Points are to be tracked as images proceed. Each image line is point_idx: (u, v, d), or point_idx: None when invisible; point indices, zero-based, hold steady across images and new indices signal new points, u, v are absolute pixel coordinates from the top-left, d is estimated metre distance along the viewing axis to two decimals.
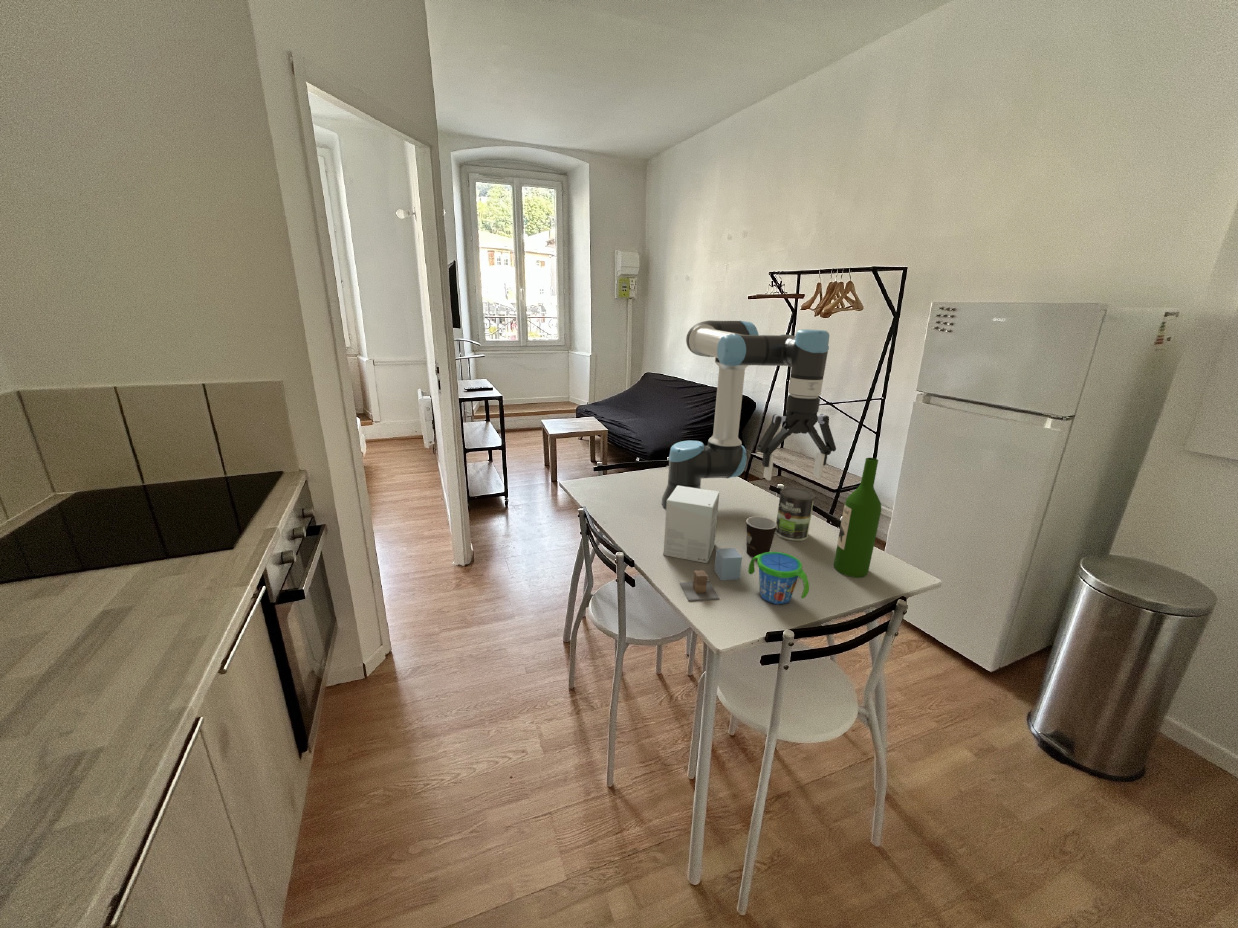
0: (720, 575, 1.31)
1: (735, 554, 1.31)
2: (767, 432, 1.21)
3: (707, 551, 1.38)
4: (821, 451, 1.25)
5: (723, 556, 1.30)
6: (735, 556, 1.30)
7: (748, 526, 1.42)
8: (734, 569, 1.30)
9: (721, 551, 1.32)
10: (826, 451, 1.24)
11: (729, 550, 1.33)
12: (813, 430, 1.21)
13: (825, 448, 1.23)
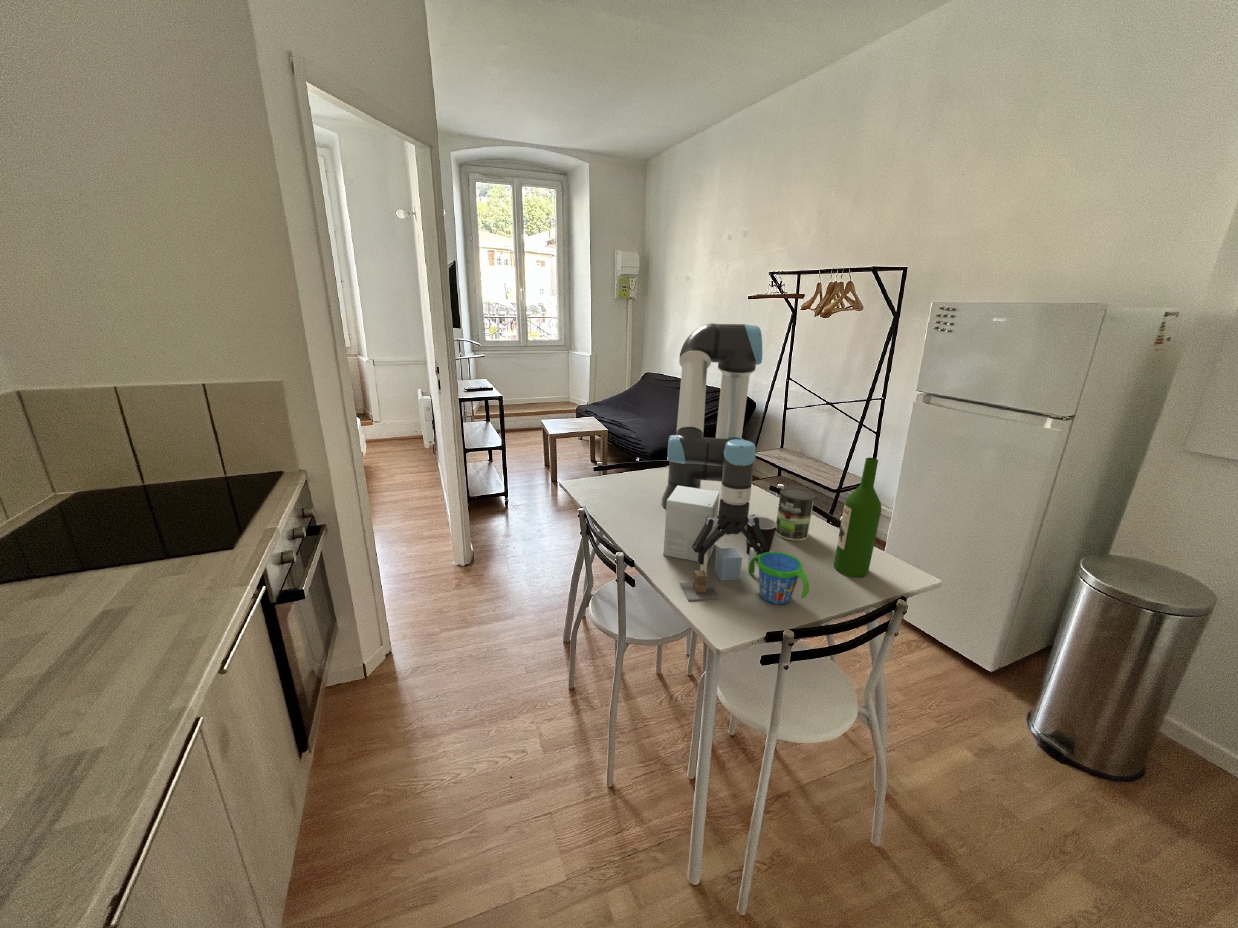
0: (720, 575, 1.31)
1: (735, 554, 1.31)
2: (701, 532, 1.29)
3: (707, 551, 1.38)
4: (754, 548, 1.33)
5: (723, 556, 1.30)
6: (735, 556, 1.30)
7: (748, 526, 1.42)
8: (734, 569, 1.30)
9: (721, 551, 1.32)
10: (758, 549, 1.31)
11: (729, 550, 1.33)
12: (744, 531, 1.28)
13: (757, 546, 1.31)
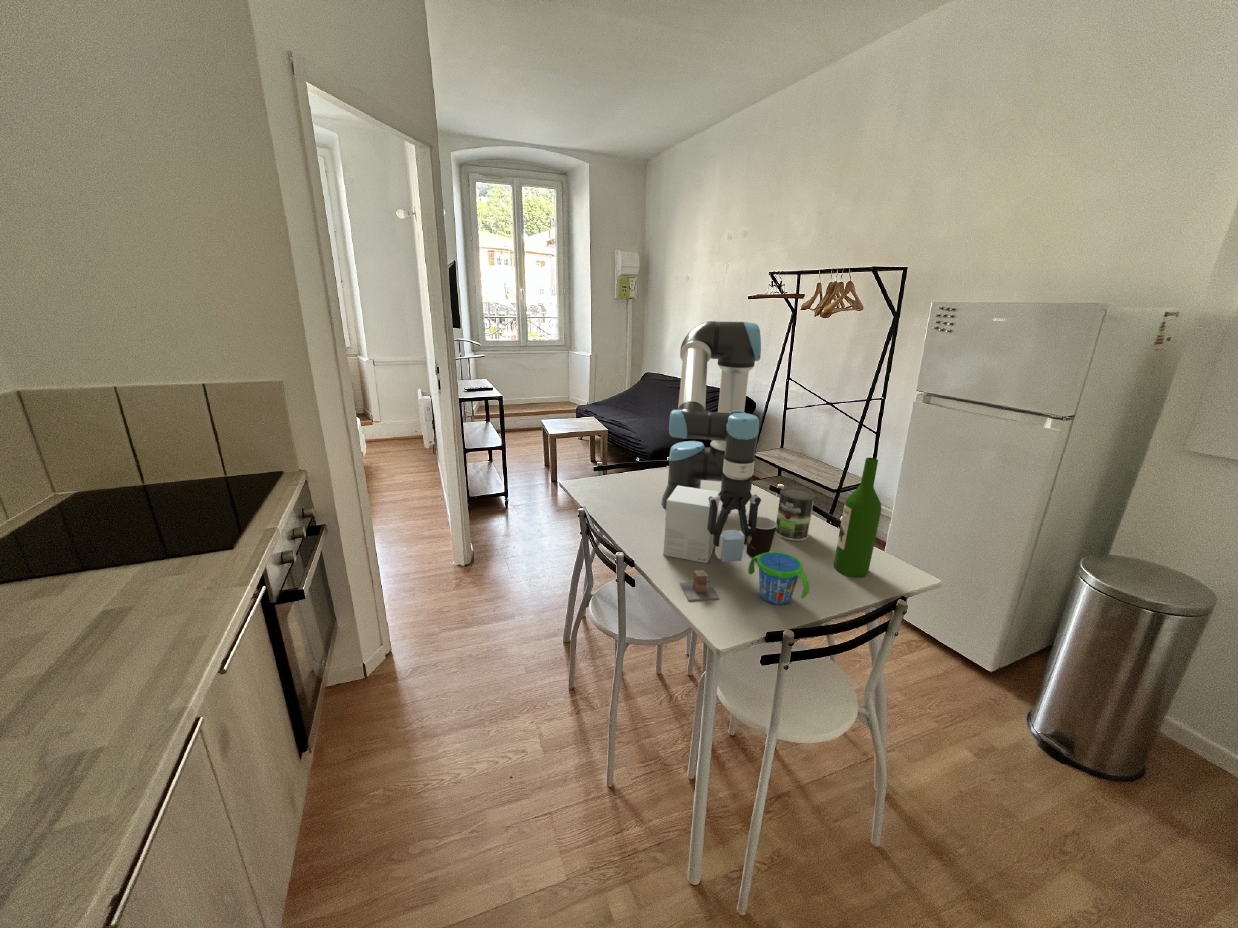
0: (722, 557, 1.30)
1: (737, 535, 1.30)
2: (709, 514, 1.28)
3: (707, 551, 1.38)
4: (742, 531, 1.31)
5: (725, 538, 1.28)
6: (737, 538, 1.29)
7: None
8: (736, 550, 1.29)
9: (723, 533, 1.31)
10: (746, 532, 1.29)
11: (731, 532, 1.32)
12: (743, 508, 1.26)
13: (746, 529, 1.29)
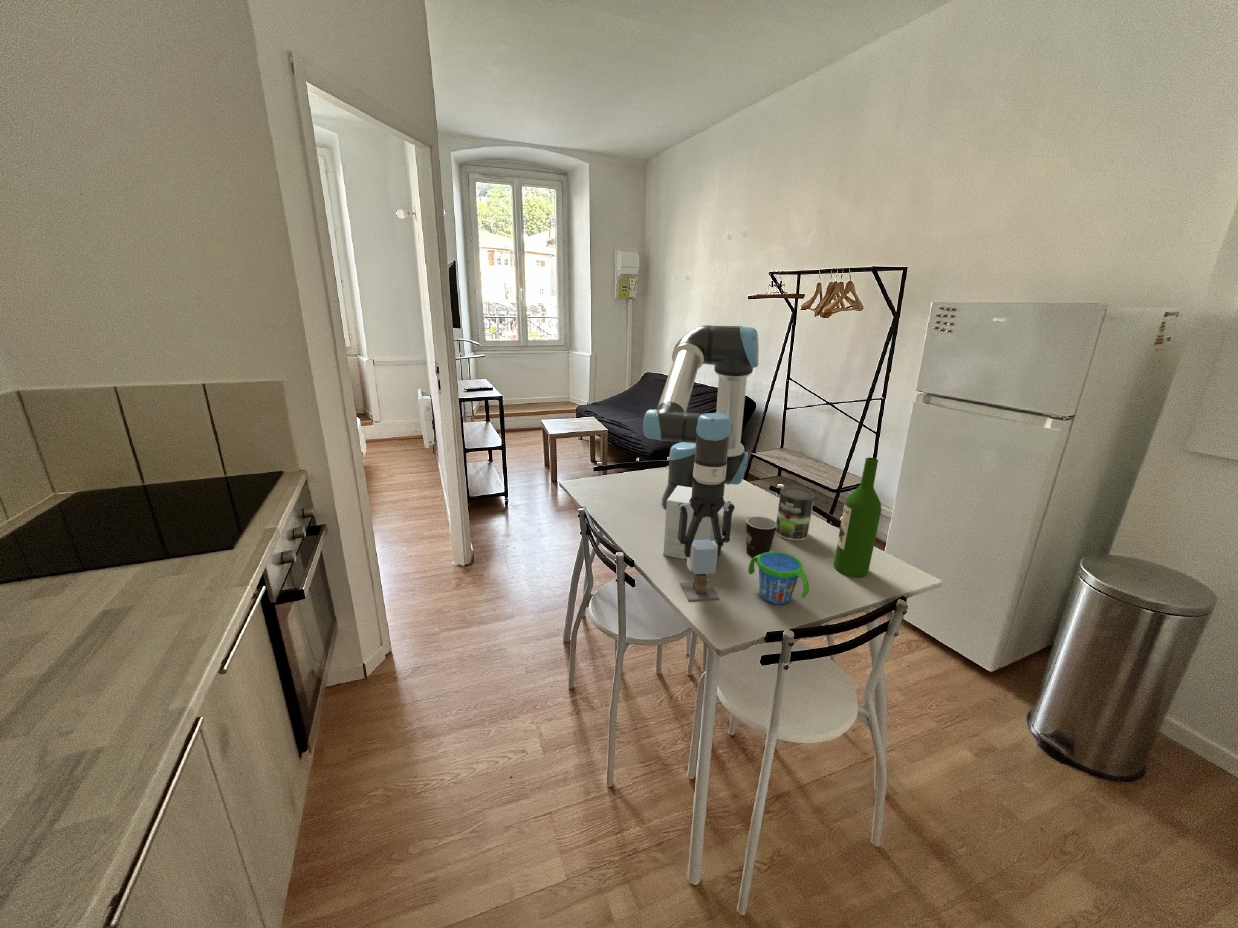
0: (693, 568, 1.21)
1: (710, 545, 1.21)
2: (680, 522, 1.19)
3: None
4: (715, 541, 1.22)
5: (696, 548, 1.19)
6: (709, 548, 1.19)
7: (748, 526, 1.42)
8: (708, 561, 1.20)
9: (695, 542, 1.22)
10: (719, 542, 1.20)
11: (704, 541, 1.23)
12: (715, 516, 1.17)
13: (720, 538, 1.20)
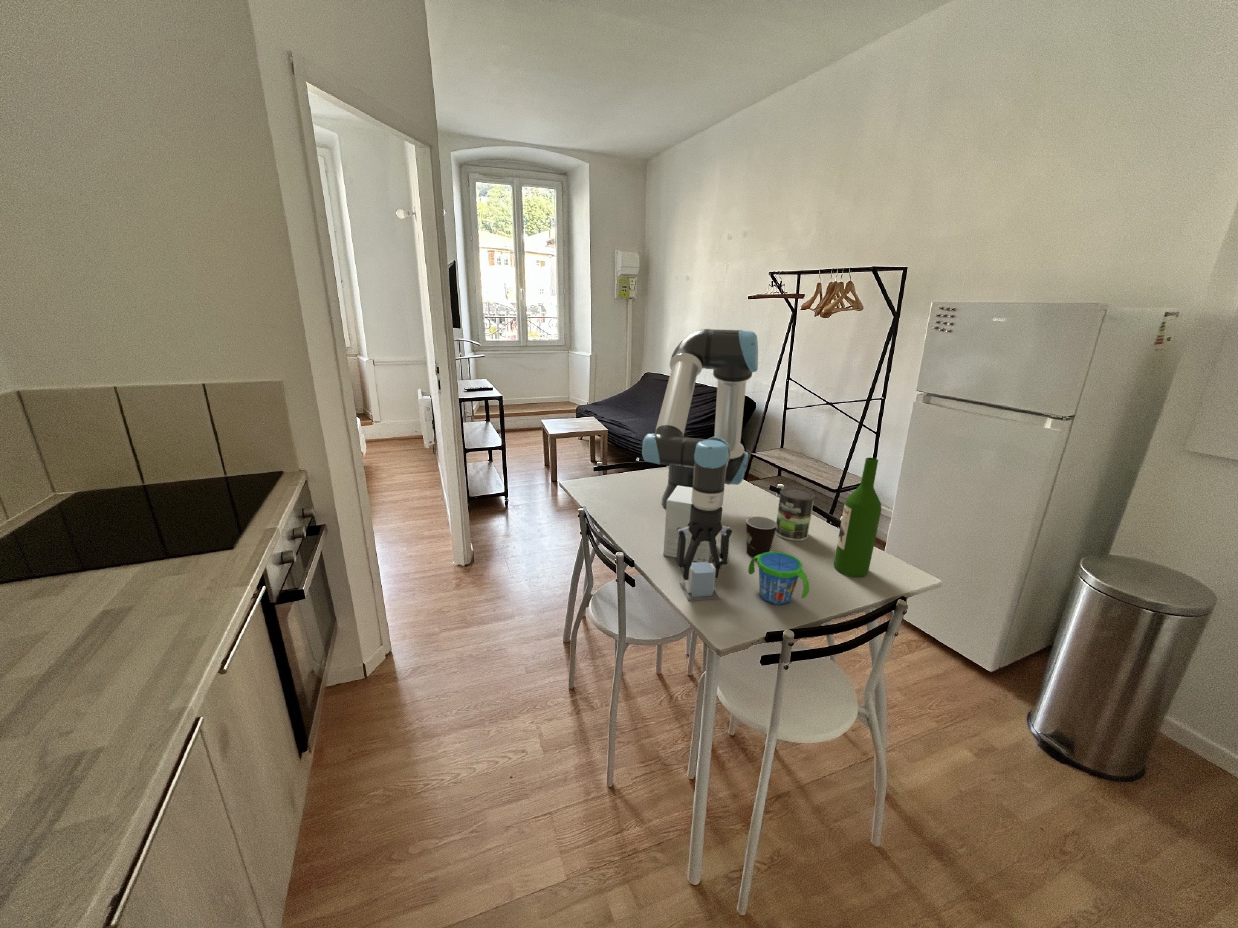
0: (692, 591, 1.23)
1: (708, 568, 1.23)
2: (678, 546, 1.21)
3: (707, 551, 1.38)
4: (713, 564, 1.24)
5: (695, 571, 1.21)
6: (707, 571, 1.22)
7: (748, 526, 1.42)
8: (706, 584, 1.22)
9: (693, 565, 1.24)
10: (717, 565, 1.22)
11: (702, 564, 1.25)
12: (713, 540, 1.20)
13: (717, 562, 1.22)
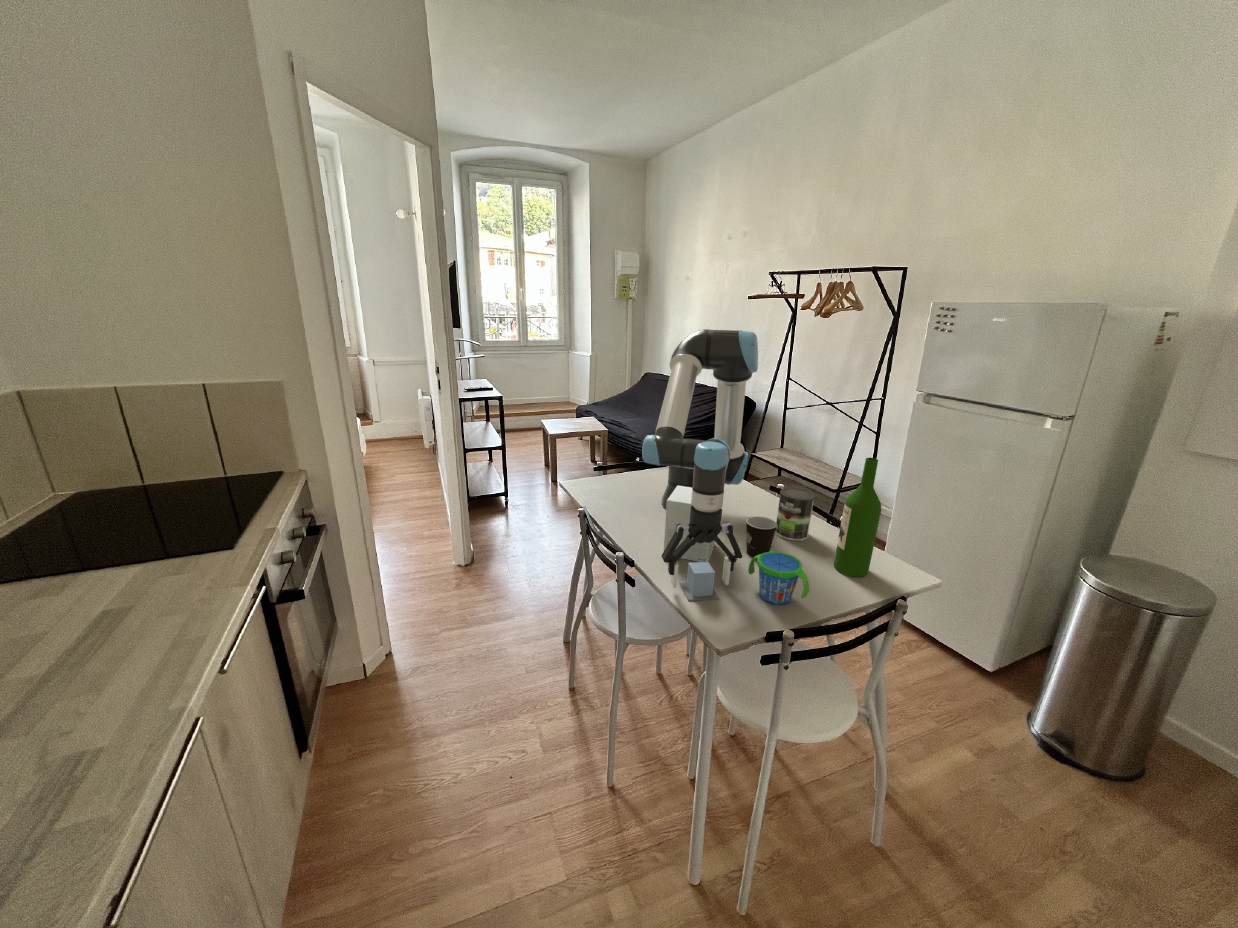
0: (692, 591, 1.23)
1: (708, 568, 1.23)
2: (671, 541, 1.20)
3: (707, 551, 1.38)
4: (728, 557, 1.24)
5: (695, 571, 1.21)
6: (707, 571, 1.21)
7: (748, 526, 1.42)
8: (706, 584, 1.22)
9: (693, 565, 1.24)
10: (732, 558, 1.23)
11: (702, 564, 1.25)
12: (717, 540, 1.20)
13: (731, 556, 1.22)
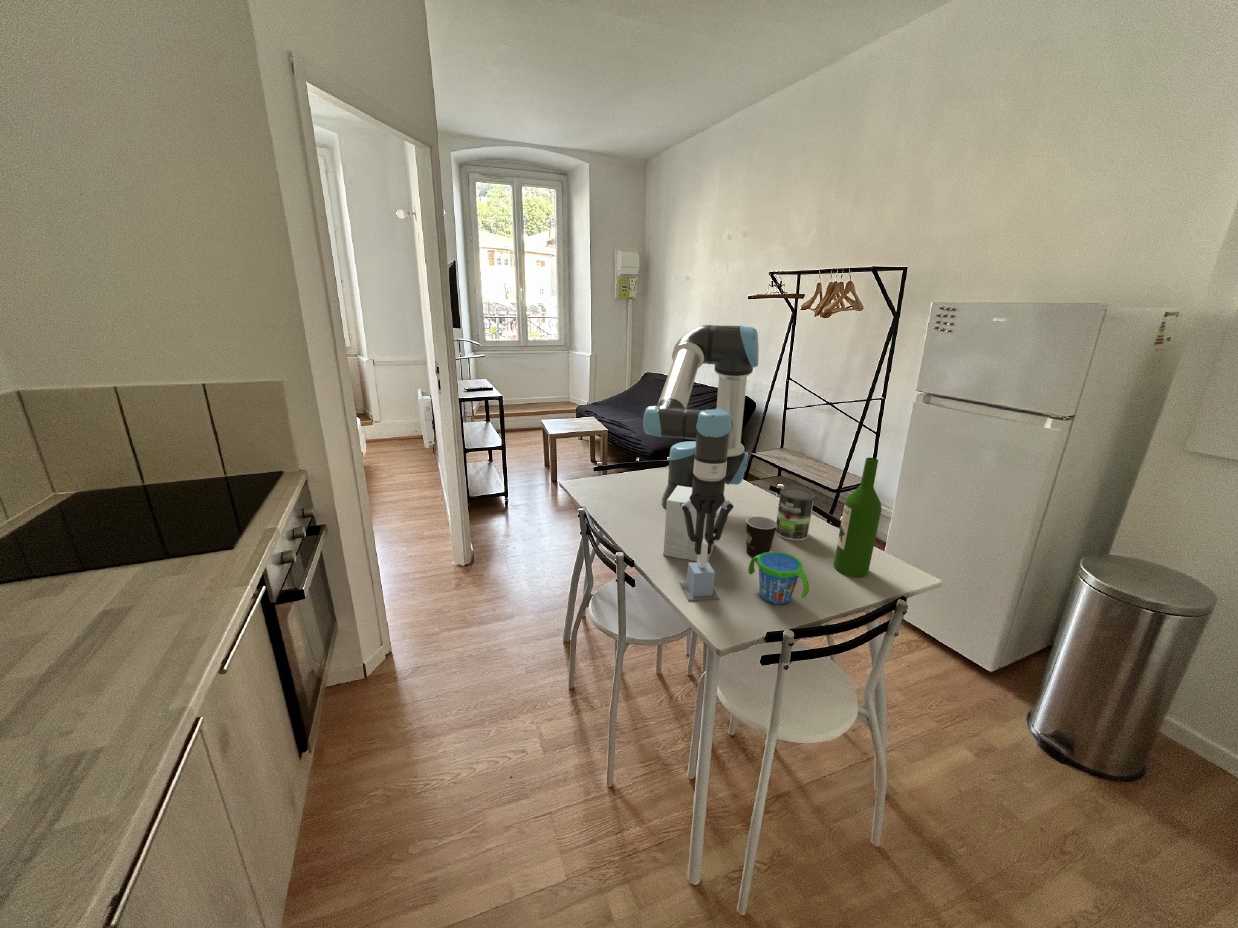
0: (692, 591, 1.23)
1: (708, 568, 1.23)
2: (685, 521, 1.19)
3: None
4: (705, 539, 1.21)
5: (695, 571, 1.21)
6: (707, 571, 1.21)
7: (748, 526, 1.42)
8: (706, 584, 1.22)
9: (693, 565, 1.24)
10: (710, 540, 1.20)
11: None
12: (713, 513, 1.17)
13: (711, 537, 1.20)
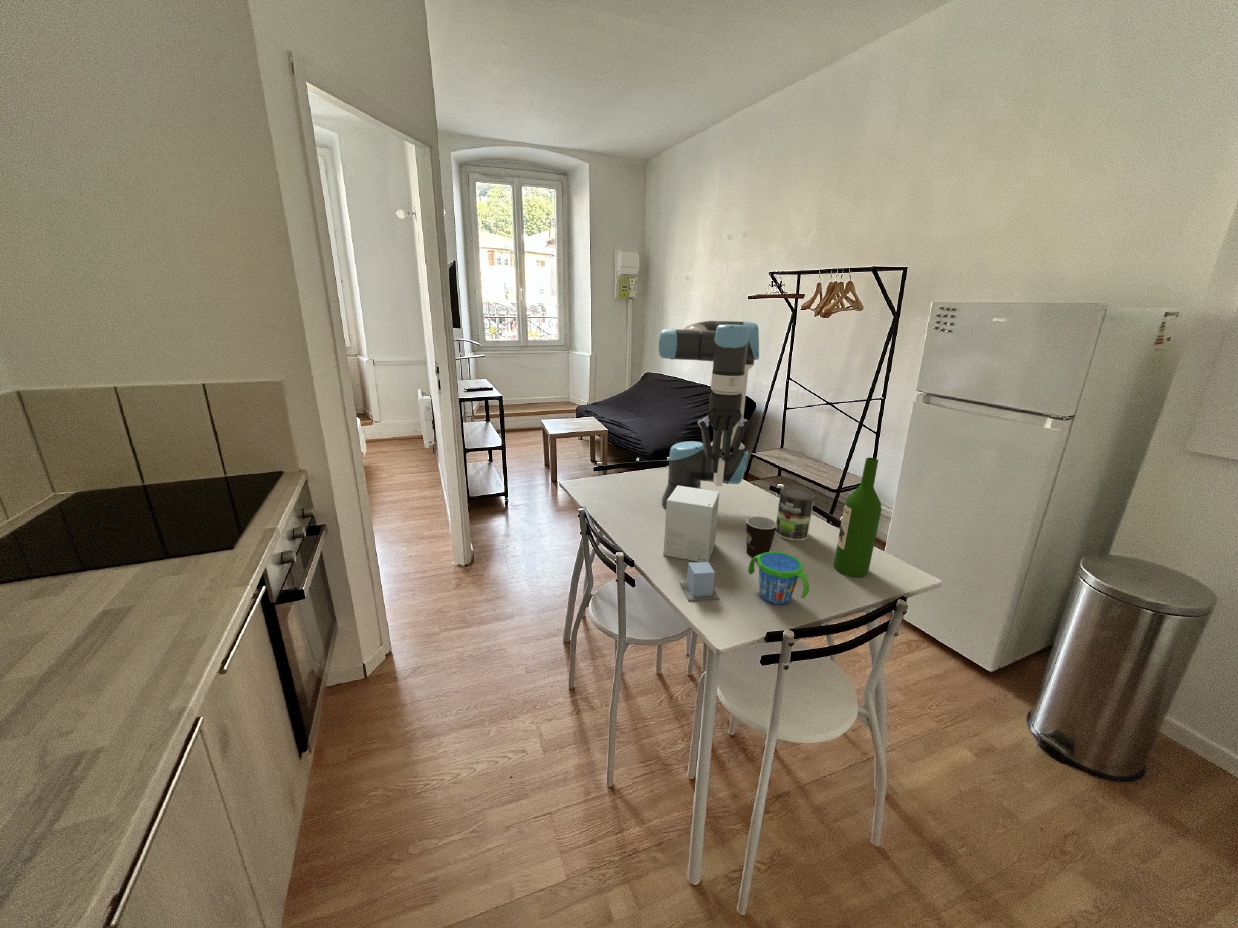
0: (692, 591, 1.23)
1: (708, 568, 1.23)
2: (702, 438, 1.21)
3: (707, 551, 1.38)
4: (722, 458, 1.23)
5: (695, 571, 1.21)
6: (707, 571, 1.21)
7: (748, 526, 1.42)
8: (706, 584, 1.22)
9: (693, 565, 1.24)
10: (726, 458, 1.21)
11: (702, 564, 1.25)
12: (730, 429, 1.19)
13: (727, 454, 1.21)
